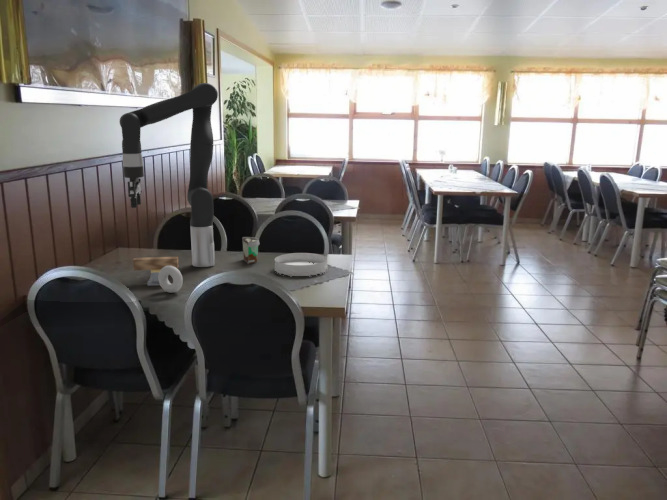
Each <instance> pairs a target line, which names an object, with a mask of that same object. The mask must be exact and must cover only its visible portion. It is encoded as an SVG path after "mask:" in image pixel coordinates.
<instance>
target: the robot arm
mask: <svg viewBox="0 0 667 500" xmlns="http://www.w3.org/2000/svg"><path fill="white" fill-rule="evenodd" d="M218 96H219V94H218V90H217V88H216V87H215V86H214V85H213V84H211V83H208V82H202V83H198V84H196V85H195V86H194V87H193V89H191V90H189V91H187V92H185V93H183V94H181V95H177V96H174V97H170V98H167V99H164V100H160V101H158V102H154V103H151V104H149V105H147V106H144V107H142V108H139V109H136V110H135V109H134V110H132V111H130V112H127V113H124V114H122V115H121V116H120V117H119V125H120V127H121V137H122V141H121V148H122V158H121V159H122V170H123V171H122V172H123V177H124V178H125V179H129V181H127V191H128V198H129V199H130V207H131V208H132V209H135V208H137V207H138V206H139V205H141V204H142V199H141V197H142V196H141V194H142V180H141V178H144V177H145V172H144V158H143V153H142V145H141V144H142V143H141V128H143V127H146V126H148V125H153V124H156V123H160V122H162V121H165V120H167V119H169V118H173V117H174V116H176V115H178V114H181V113H184V112H186V111H189V110H192V123H191V129H190V130H191V133H190V144H189V145H190V146H189V171H190V173H189V174H190V175H189V181H188V182H189V184H188V189H187V196H186V197H187V202H188V204H189V205H190V206H191V207H190V208H191V209H190V212H191V213H190V214H191V217H190V219H189V225H190V226H189V227H190V242H191V263H192V264H191V265H192V266H193V267H195V268H207V267H208V268H209V267H214V266H215V263H216V259H215V257H216V256H215V255H216V254H215V241H214V229H213V228H214V225H213V222H214V218H215V217H214V213H215V211H214V197H213V196H214V195H212V192H211V191H210V190H209V189H208V176H209V170H210V168H211V164H212V160H213V157H214V133H213V129H212V121H211V119H212V117H211V115H212V108H213V105H214V104H215V103H216V102H217V100H218Z"/></svg>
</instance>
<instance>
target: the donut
mask: <svg viewBox="0 0 667 500" xmlns="http://www.w3.org/2000/svg"><path fill="white" fill-rule="evenodd" d="M169 276H170V277H171V278H172V283H171V281H170V280H169ZM183 278H184V277H183V275H182V273H181V271H180V270H179V268H178V269H177V268H176V267H174V266H165V267H163V268H162V269H161V270H160V272H159V275H158V280H159V284H160V285H159V286H160V288H162V290H163V291H164V292H167V293H170V294H173V293H177V292H179V291H180V290H181V288H182V286H183V282H184V279H183Z"/></svg>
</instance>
